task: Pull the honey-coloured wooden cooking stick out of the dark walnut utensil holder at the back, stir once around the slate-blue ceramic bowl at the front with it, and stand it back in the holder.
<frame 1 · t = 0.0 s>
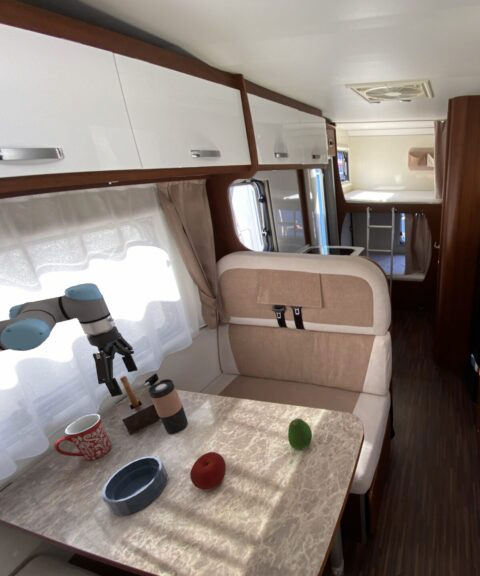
hand: (125, 382, 106), 24 cm above the table, tool pointing down, fingers open, 13 cm apart
apple: (213, 483, 96), on the table
travel mug: (177, 427, 117), on the table
bowl: (140, 491, 94), on the table
stick: (133, 399, 117), in the holder
fruit: (302, 446, 107), on the table
holder: (143, 420, 121), on the table
mug: (92, 455, 107), on the table
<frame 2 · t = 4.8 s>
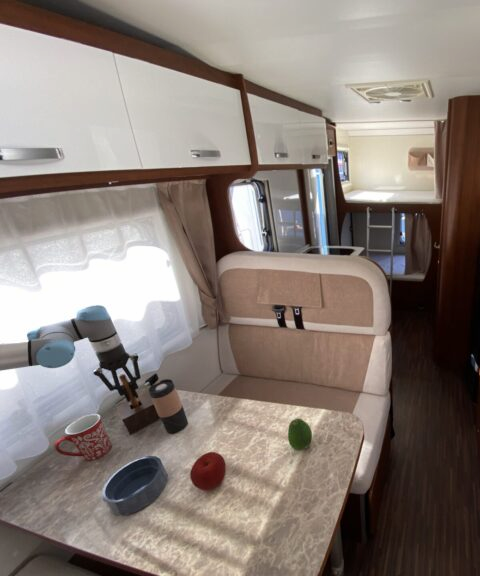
hand: (132, 398, 117), 11 cm above the table, tool pointing down, fingers closed on stick, 2 cm apart
stick: (132, 398, 117), in the holder, tilted 5°, touching gripper
everything else where it was.
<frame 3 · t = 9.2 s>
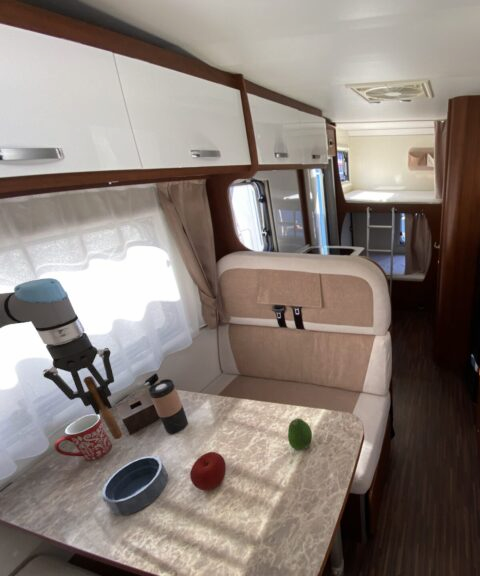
hand: (103, 408, 86), 30 cm above the table, tool pointing down, fingers closed on stick, 2 cm apart
stick: (103, 408, 86), point 30 cm above the table, tilted 5°, touching gripper
everything else where it was.
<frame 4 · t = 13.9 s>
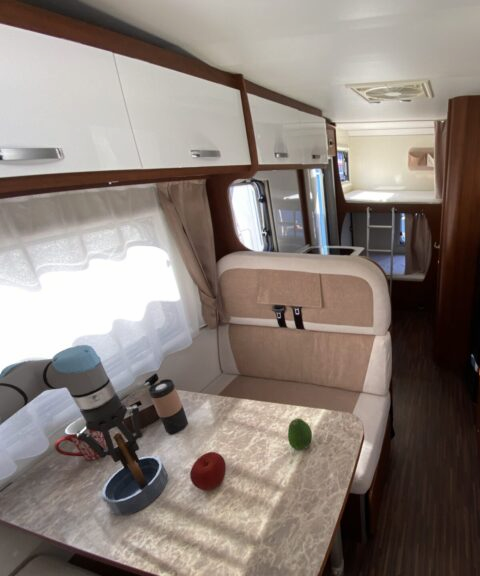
hand: (131, 462, 88), 14 cm above the table, tool pointing down, fingers closed on stick, 2 cm apart
stick: (131, 461, 89), point 13 cm above the table, tilted 5°, touching gripper
everything else where it was.
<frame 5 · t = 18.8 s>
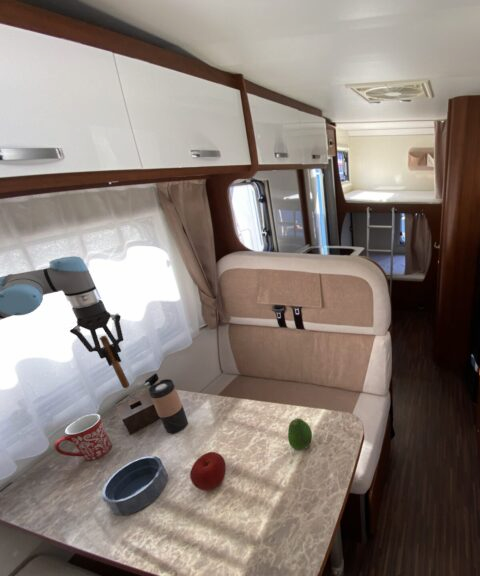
hand: (114, 362, 108), 30 cm above the table, tool pointing down, fingers closed on stick, 2 cm apart
stick: (114, 362, 109), point 29 cm above the table, tilted 5°, touching gripper
everything else where it was.
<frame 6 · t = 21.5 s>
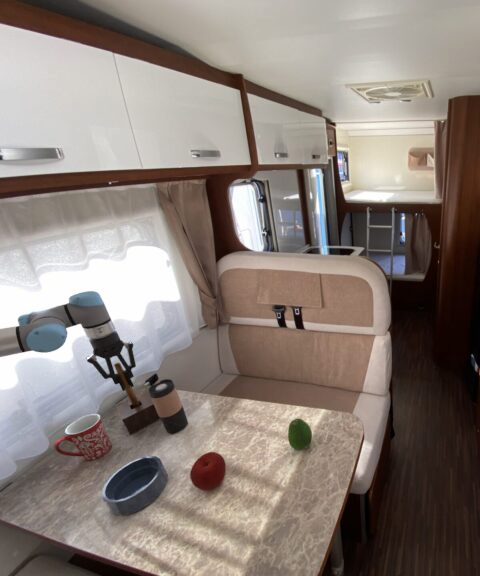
hand: (127, 387, 115), 17 cm above the table, tool pointing down, fingers closed on stick, 2 cm apart
stick: (127, 387, 115), point 16 cm above the table, tilted 5°, touching gripper
everything else where it was.
when the fingers open (11 cm above the table, at t = 22.9 s): stick stays where it is, resting on holder.
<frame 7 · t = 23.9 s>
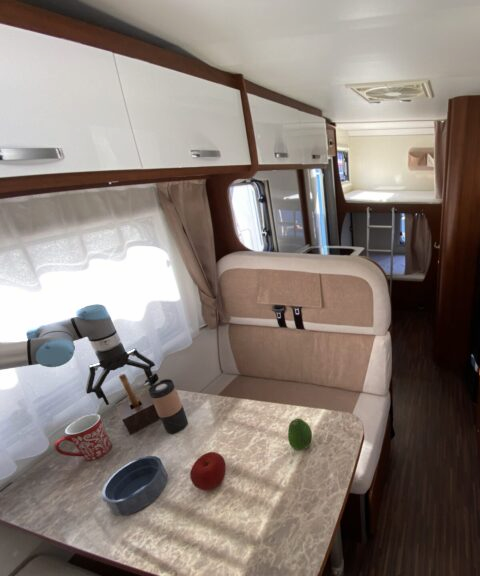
hand: (130, 392, 116), 14 cm above the table, tool pointing down, fingers open, 13 cm apart
stick: (132, 397, 117), in the holder, tilted 5°
everything else where it was.
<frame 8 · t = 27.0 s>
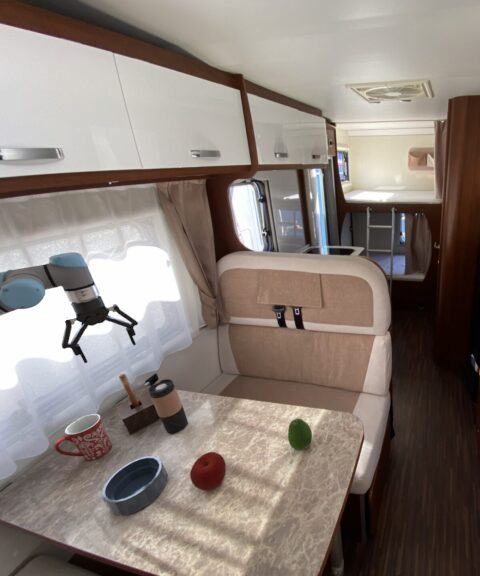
hand: (110, 352, 108), 33 cm above the table, tool pointing down, fingers open, 13 cm apart
nothing on the table moved.
at the end: stick 0.1 cm off-centre in the holder, point 10.9 cm above the holder's base; stick tilted 5°; the gripper is holding nothing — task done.
